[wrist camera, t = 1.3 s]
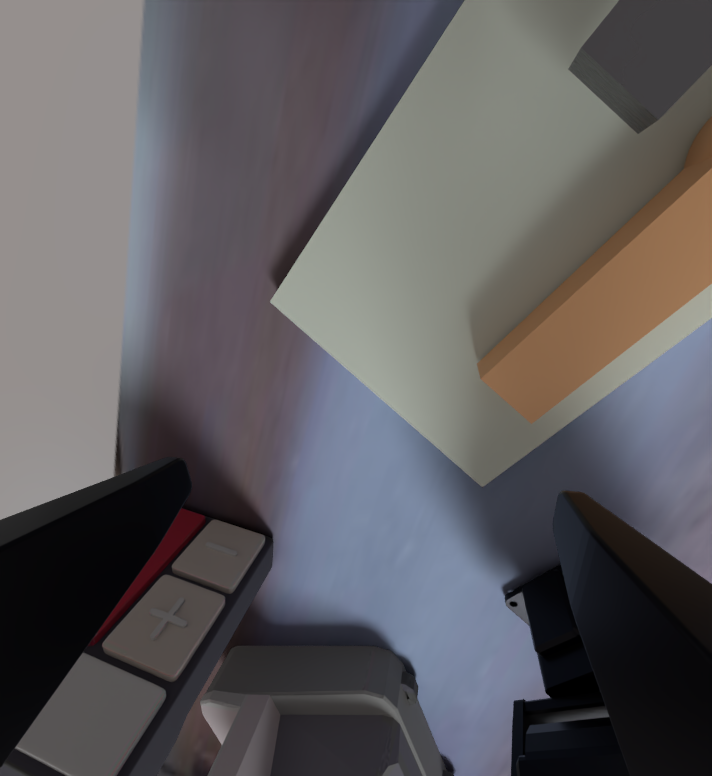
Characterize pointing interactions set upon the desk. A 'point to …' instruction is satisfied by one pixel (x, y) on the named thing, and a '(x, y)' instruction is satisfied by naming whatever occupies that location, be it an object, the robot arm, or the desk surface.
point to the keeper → (646, 56)
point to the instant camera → (318, 714)
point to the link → (612, 294)
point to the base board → (485, 225)
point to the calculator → (149, 656)
